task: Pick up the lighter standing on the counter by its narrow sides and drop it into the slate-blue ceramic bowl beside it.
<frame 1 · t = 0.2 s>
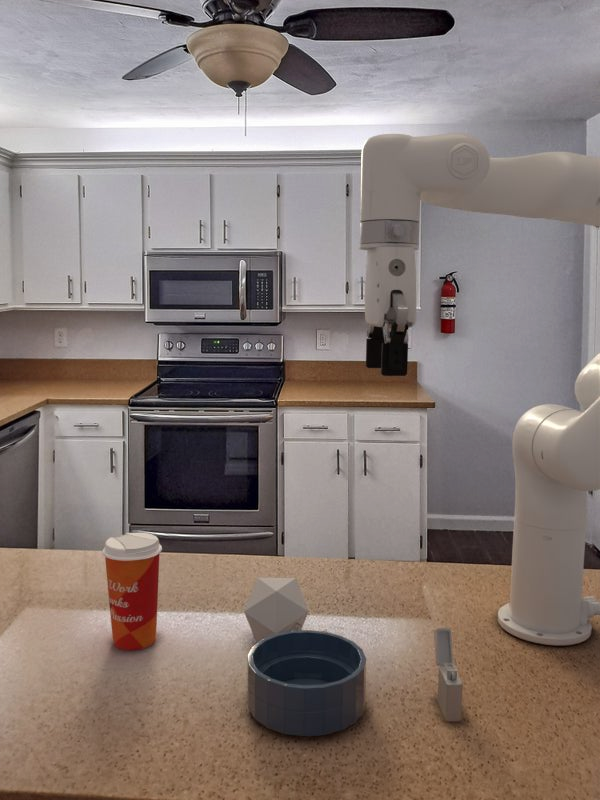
hand: (385, 371, 96), 36 cm above the counter, tool pointing down, fingers open, 9 cm apart
lighter: (445, 705, 84), on the counter
bowl: (306, 706, 83), on the counter
grey polyhedron: (276, 639, 100), on the counter
paper cup: (135, 642, 98), on the counter
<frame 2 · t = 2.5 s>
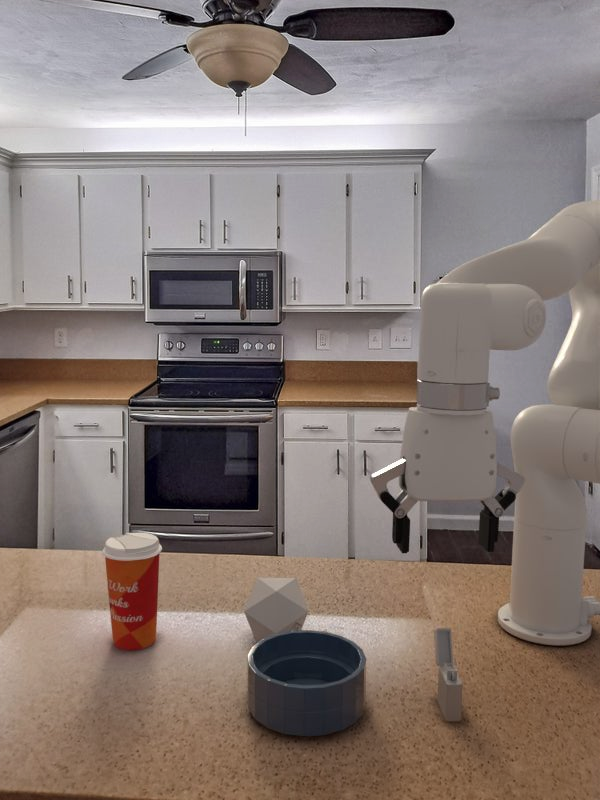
hand: (444, 548, 82), 18 cm above the counter, tool pointing down, fingers open, 9 cm apart
nothing on the counter moved.
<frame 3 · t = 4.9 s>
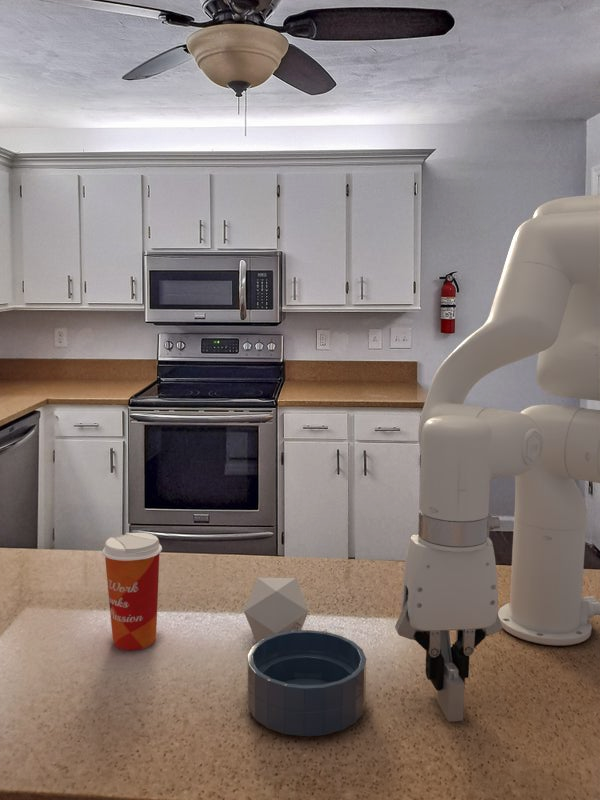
hand: (446, 682, 84), 3 cm above the counter, tool pointing down, fingers closed on lighter, 2 cm apart
lighter: (445, 705, 84), on the counter, touching gripper
everything else where it was.
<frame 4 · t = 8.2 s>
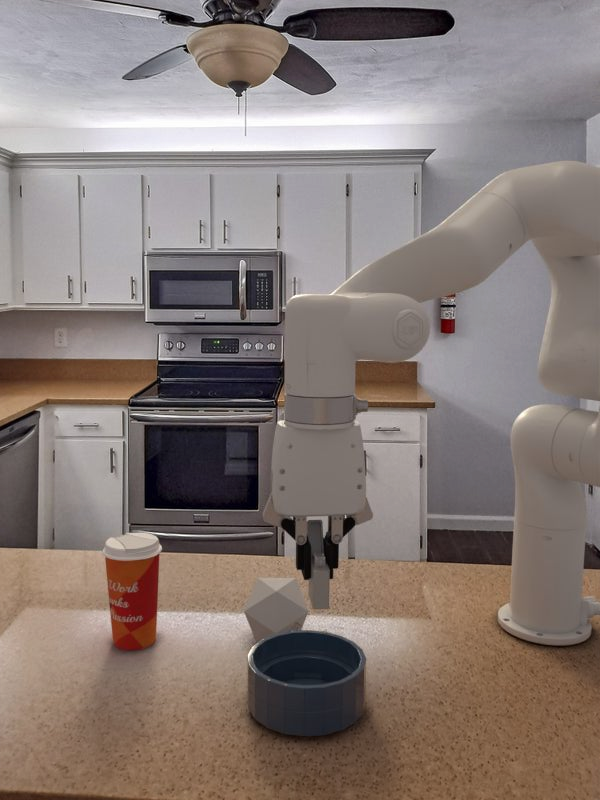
hand: (316, 573, 81), 16 cm above the counter, tool pointing down, fingers closed on lighter
lighter: (316, 597, 81), point 13 cm above the counter, touching gripper
everything else where it was.
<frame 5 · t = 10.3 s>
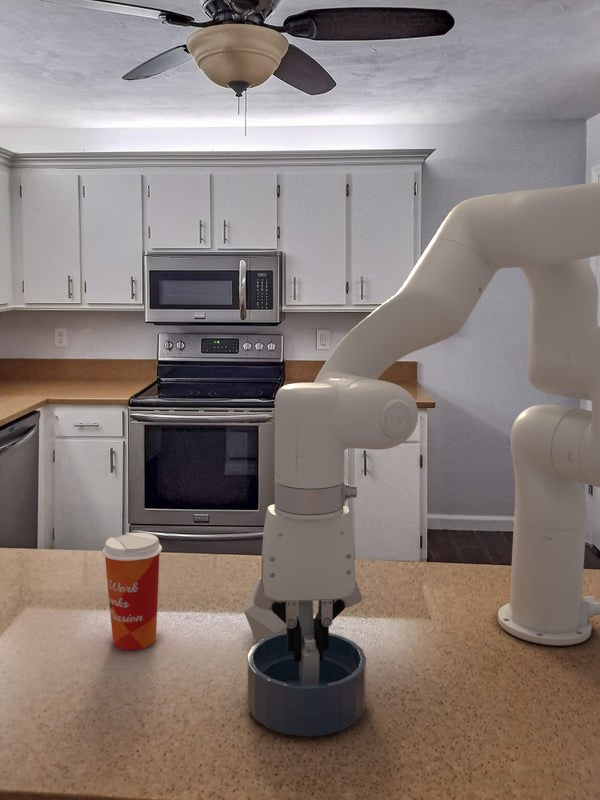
hand: (307, 654, 82), 6 cm above the counter, tool pointing down, fingers closed on lighter
lighter: (307, 677, 83), point 3 cm above the counter, touching gripper
everything else where it was.
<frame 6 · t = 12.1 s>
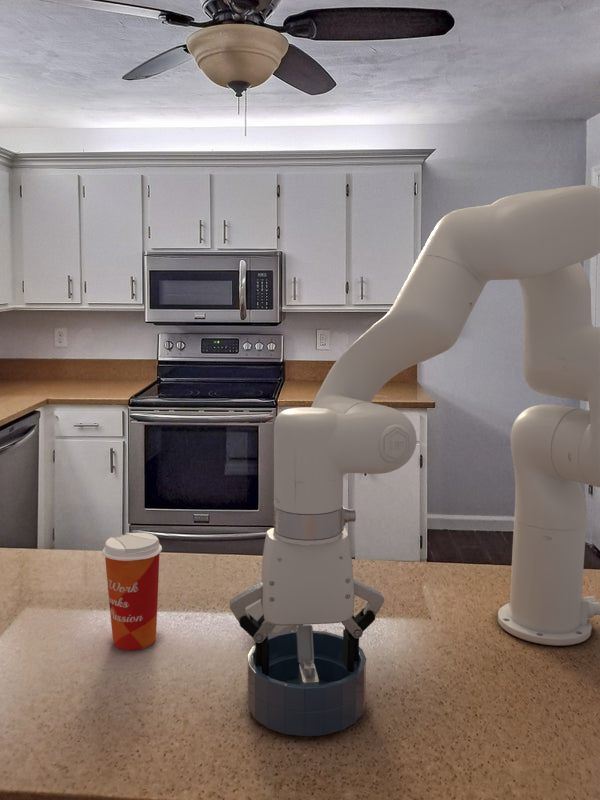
hand: (306, 668, 83), 5 cm above the counter, tool pointing down, fingers open, 9 cm apart
lighter: (306, 702, 83), resting on bowl
everything else where it was.
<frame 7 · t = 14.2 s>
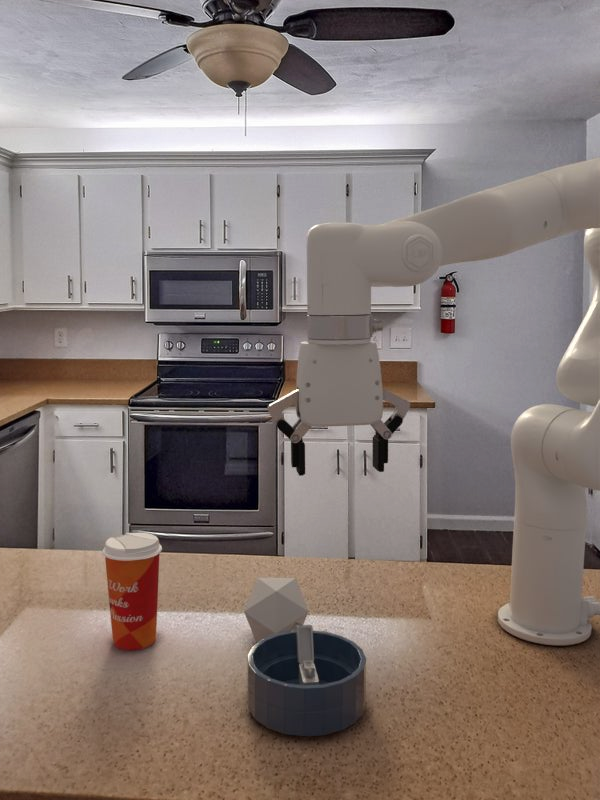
hand: (339, 471, 89), 25 cm above the counter, tool pointing down, fingers open, 9 cm apart
nothing on the counter moved.
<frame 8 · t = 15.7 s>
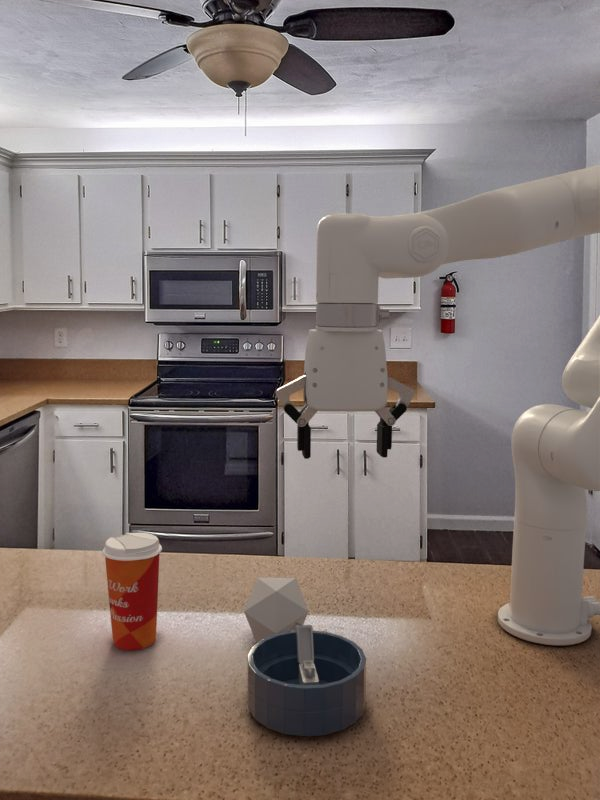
hand: (344, 455, 92), 26 cm above the counter, tool pointing down, fingers open, 9 cm apart
nothing on the counter moved.
at the end: lighter inside the target area in the bowl (0.1 cm from its centre), point 0.4 cm above the bowl's base; the gripper is holding nothing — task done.
